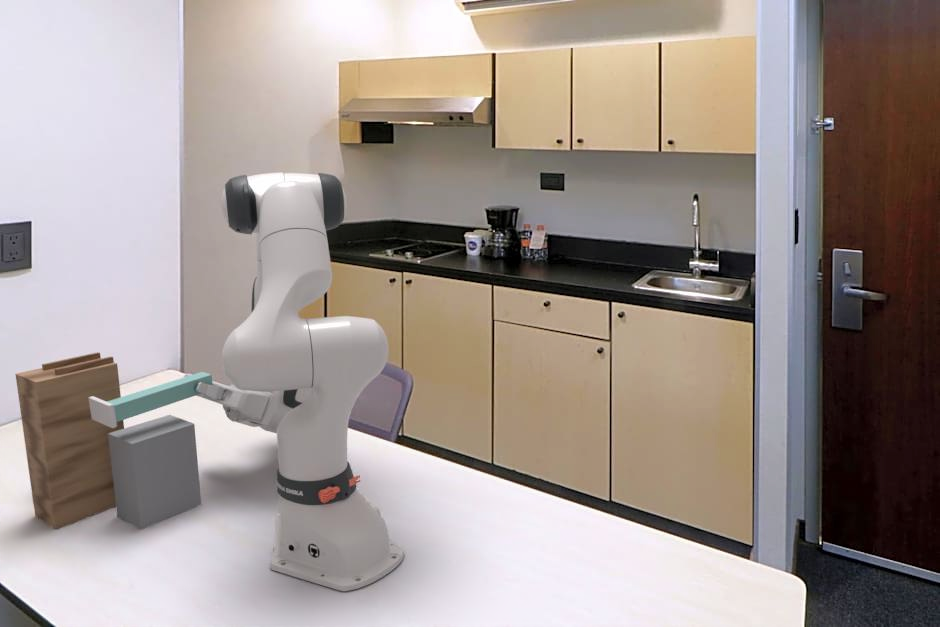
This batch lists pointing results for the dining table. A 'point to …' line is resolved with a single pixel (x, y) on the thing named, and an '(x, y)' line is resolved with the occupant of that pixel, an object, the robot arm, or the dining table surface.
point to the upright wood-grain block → (68, 437)
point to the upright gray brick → (154, 470)
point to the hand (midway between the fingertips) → (189, 383)
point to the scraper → (145, 399)
